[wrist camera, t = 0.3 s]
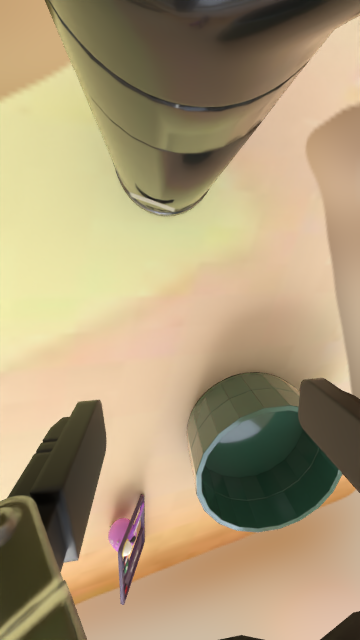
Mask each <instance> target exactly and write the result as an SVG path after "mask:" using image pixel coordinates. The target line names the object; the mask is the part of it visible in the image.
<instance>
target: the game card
mask: <svg viewBox="0 0 360 640" xmlns="http://www.w3.org/2000/svg"><path fill="white" fill-rule="evenodd" d="M140 505H141V507H140ZM139 507H140V513H139V515H138V517H137V520H136V522H135V524H134V525H133V523H134V520H135V518H136V515H137V512H138V510H139ZM140 519H141V529H140V531H139V534H138V537H137V540H136V543H135V545H134V548H133V551H132V554H131V556H130V559H128V555H129V554H130V552H131V549H132V545H133V544H134V542H135V539H136V535H137V533H136V529H137V527H138V524H139V521H140ZM109 541H110V543H111V545H112V546H113V548H114V549H115V550H116V551H118V561H119V581H120V599H121V604H122V605H124V603H125V600H126V597H127V594H128V591H129V588H130V585H131V582H132V579H133V576H134V573H135V570H136V567H137V564H138V561H139V558H140V555H141V552H142V549H143V546H144V542H145V528H144V495H142V494H141V496H140V498H139V501H138V503H137V506H136V508H135V510H134V513H133V515H132V518H131V520H129V519H127V518H120V519H118V520H116V521H115V522H114V523H113V524H112V526H110V530H109ZM123 557H124V559H123ZM123 568H124V569H123Z"/></svg>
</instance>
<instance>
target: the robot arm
mask: <svg viewBox="0 0 360 640" xmlns="http://www.w3.org/2000/svg"><path fill="white" fill-rule="evenodd" d="M45 2H46V4H47V6H48V9H49V11H50V14H51V16H52V18H53V21H54V23H55V25H56V28H57V30H58V33H59V35H60V37H61V40H62V42H63V44H64V47H65V49H66V52H67V54H68V56H69V59H70V61H71V63H72V66H73V68H74V70H75V72H76V74H77V77H78V79H79V82H80V84H81V86H82V89H83V91H84V94H85V96H86V98H87V101H88V103H89V106H90V108H91V110H92V113H93V115H94V118H95V120H96V122H97V125H98V127H99V130H100V132H101V134H102V137H103V139H104V142H105V144H106V146H107V149H108V151H109V154H110V156H111V158H112V161H113V164H114V166H115V169H116V173H117V176H118V178H119V181H120V183H121V185H122V187H123V189H124V190H125V192H126V193H127V195H128V196H129V197H130V198H131V199H132V200H133V202H135V203H136V204H137V205H138V206H139V207H141V208H142V209H144V210H146V211H148V212H150V213H153V214H156V215H161V216H174V215H178V214H182V213H184V212H186V211H188V210H190V209H192V208H193V207H194V206H196V205H197V204H198V203H199V202H200V201H201V200H202V198H203V197H204V196H205V195H206V193H207V192H208V190H209V188H210V187H211V186H212V184H213V183H214V182H215V181H216V179H217V178H218V177H219V175H220V174H221V173H222V172H223V170H224V169H225V168H226V166H227V165H228V164H229V163H230V161H231V160H232V159H233V158H234V156H235V155H236V154H237V152H238V151H239V150H240V149H241V147H242V146H243V145H244V143H245V142H246V141H247V140H248V138H249V137H250V136H251V135H252V133H253V132H254V131H255V129H256V128H257V127H258V126H259V124H260V123H261V122H262V120H263V119H264V118H265V117H266V115H267V114H268V113H269V111H270V110H271V109H272V108H273V106H274V105H275V104H276V102H277V101H278V100H279V98H280V97H281V96H282V94H283V93H284V92H285V91H286V89H287V88H288V87H289V86H290V84H291V83H292V82H293V80H294V79H295V78H296V77H297V75H298V74H299V73H300V72H301V70H302V69H303V68H304V66H305V65H306V64H307V63H308V61H309V60H310V59H311V58H312V56H313V55H314V54H315V53H316V52H317V51H318V49H319V48H320V47H321V46H322V44H323V43H324V42H325V41H326V39H327V38H328V37H329V36H330V34H331V33H332V32H333V31H334V30H335V29H336V28H338V27H340V26H342V25H343V24H345V23H347V22H349V21H351V20H353V19H354V18H356V17H358V16H360V0H45ZM298 418H299V422H300V424H301V426H302V428H303V430H304V431H305V432H306V433H307V434H308V435H309V436H310V438H311V439H312V440H313V441H314V442H315V443H316V444H317V445H318V447H319V448H320V449H321V450H322V451H323V452H324V453H325V454H326V456H327V457H328V458H329V459H330V460H331V461H332V462H333V463H334V465H335V466H336V467H337V468H338V469H339V470H340V471H341V472H342V474H343V475H344V476H345V477H346V478H347V479H348V480H349V482H350V483H351V484H352V485H353V486H354V487H355V488H356V489H357V490H358V492H359V493H360V399H359V398H357V397H356V396H354V395H352V394H349V393H347V392H345V391H342V390H341V389H339V388H338V387H336V386H335V385H333V384H332V383H330V382H329V381H327V380H326V379H324V378H318V379H308V380H303V381H302V382H301V386H300V397H299V407H298ZM105 451H106V431H105V424H104V417H103V410H102V404H101V401H100V400H92V401H82V402H78V403H77V405H76V407H75V409H74V410H73V412H72V414H71V416H70V417H64V418H62V419H61V420H59V421H58V422H57V423H56V424H55V425H54V426H53V427H51V428H50V430H49V431H48V433H47V435H46V436H45V438H44V439H43V443H41V444H40V446H39V448H38V449H37V451H36V454H34V456H33V457H32V459H31V460H30V462H29V464H28V465H27V467H26V469H25V470H24V472H23V473H22V475H21V477H20V478H19V480H18V481H17V483H16V485H15V486H14V488H13V490H12V491H11V493H10V494H9V496H8V498H7V499H4V500H2V501H0V640H87V638H86V635H85V633H84V630H83V627H82V624H81V621H80V618H79V616H78V613H77V610H76V608H75V605H74V602H73V599H72V596H71V594H70V591H69V588H68V586H67V584H66V582H65V580H64V581H63V578H62V576H61V573H60V572H61V569H62V566H63V562H70V561H76V560H78V558H79V554H80V550H81V546H82V542H83V538H84V534H85V530H86V527H87V523H88V519H89V515H90V511H91V507H92V503H93V499H94V495H95V491H96V487H97V483H98V479H99V475H100V471H101V468H102V464H103V460H104V456H105ZM220 640H263V639H258V638H253V637H248V636H243V635H240V636H235V637H230V638H225V639H220ZM320 640H360V611H359V612H354V613H352V614H351V615H350V616H349V617H348V618H346V619H345V620H344V621H343V622H341V623H340V624H339V625H338V626H336V627H335V628H334V629H333V630H332V631H330V632H329V633H328V634H327V635H325V636H324V637H323V638H322V639H320Z"/></svg>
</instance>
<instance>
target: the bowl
mask: <svg viewBox="0 0 360 640" xmlns="http://www.w3.org/2000/svg"><path fill="white" fill-rule="evenodd" d="M299 397H300V392H299V391H298V390H297V389H296V388H295V387H294V386H292V385H290V384H289V383H288V382H287V381H285V380H283V379H281V378H280V377H277V376H274V375H271V374H267V373H258V372H254V373H244V374H239V375H235V376H232V377H230V378H227V379H225V380H223V381H221V382H219V383H217V384H216V385H215V386H213V387H212V388H210V389H209V390H208V391H207V392H206V393H205V394H204V395H203V396H202V397H201V398H200V399H199V401H198V402H197V404H196V405H195V407H194V409H193V411H192V413H191V415H190V418H189V421H188V426H187V440H188V450H189V456H190V461H191V466H192V472H193V477H194V483H195V488H196V494H197V496H198V498H199V500H200V503H201V505H202V507H203V509H204V511H205V512H206V513H207V514H209V515H210V516H211V517H212V518H213V519H214V520H215V521H216V522H218V523H219V524H221V525H224V526H226V527H229V528H231V529H234V530H236V531H246V532H263V531H269V530H275V529H280V528H283V527H285V526H288V525H290V524H293V523H295V522H298V521H300V520H302V519H303V518H304V517H306V516H307V515H309V514H310V513H312V512H313V511H315V510H316V509H318V508H319V507H320V506H321V505H322V504H323V503H324V501H325V500H326V499H327V498H328V497H329V496H330V495H331V494H332V493H333V491H334V489H335V487H336V486H337V484H338V482H339V480H340V478H341V476H342V472H341V471H340V470H339V469H338V468H337V467H336V466H335V465H334V463H333V462H332V461H331V460H330V459H329V458H328V457H327V456H326V454H325V453H324V452H323V451H322V450H321V449H320V448H319V447H318V445H317V444H316V443H315V442H314V441H313V440H312V439H311V438H310V436H309V435H308V434H307V433H306V432H305V431H304V430H303V428H302V426H301V424H300V422H299V418H298V407H299Z"/></svg>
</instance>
